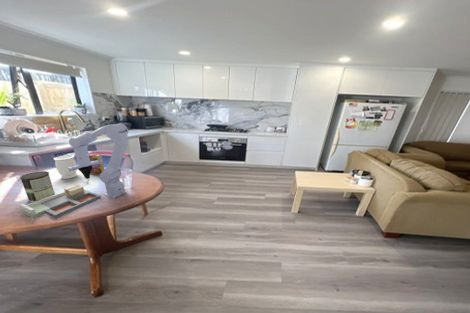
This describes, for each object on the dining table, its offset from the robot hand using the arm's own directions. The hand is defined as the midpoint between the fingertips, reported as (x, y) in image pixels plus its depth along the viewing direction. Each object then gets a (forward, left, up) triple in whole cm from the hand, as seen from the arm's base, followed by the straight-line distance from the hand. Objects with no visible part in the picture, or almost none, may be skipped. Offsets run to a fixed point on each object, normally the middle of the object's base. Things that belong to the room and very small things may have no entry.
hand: (87, 178), depth 102 cm
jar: (+36, -7, -9) cm, 38 cm away
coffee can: (+16, +15, -9) cm, 24 cm away
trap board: (-5, +14, -9) cm, 18 cm away
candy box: (+25, -19, -9) cm, 32 cm away
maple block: (0, +7, -7) cm, 10 cm away
